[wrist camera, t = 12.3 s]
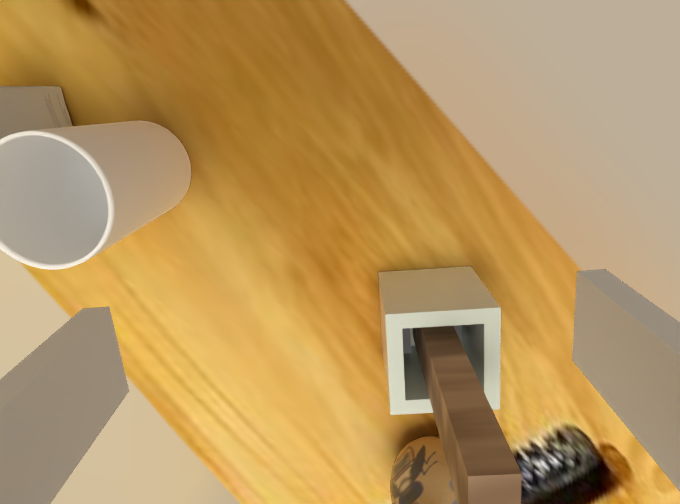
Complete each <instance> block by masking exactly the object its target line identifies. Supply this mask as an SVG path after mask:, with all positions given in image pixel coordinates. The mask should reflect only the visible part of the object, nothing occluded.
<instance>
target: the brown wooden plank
mask: <svg viewBox="0 0 680 504" xmlns="http://www.w3.org/2000/svg"><path fill="white" fill-rule="evenodd" d="M413 338H414V342H415V346H416V350H417V353H418V357H419V361H420V365H421V368H422V372H423V376H424V380H425V383H426V387H427V391H428V395H429V398H430V402H431V406H432V410H433V413H434V417H435V421H436V424H437V428H438V432H439V436H440V439H441V443H442V447H443V451H444V454H445V458H446V462H447V466H448V469H449V473H450V477H451V481H452V484H453V488H454V492H455V496H456V499H457V503H458V504H521V476H522V474H521V471H520V469H519V467H518V465H517V463H516V461H515V458H514V456H513V454H512V452H511V450H510V448H509V445H508V443H507V441H506V439H505V437H504V435H503V432H502V430H501V428H500V426H499V424H498V421H497V419H496V417H495V415H494V413H493V411H492V408H491V406H490V404H489V402H488V400H487V398H486V395H485V393H484V391H483V389H482V387H481V384H480V382H479V380H478V378H477V376H476V374H475V371H474V369H473V367H472V365H471V363H470V361H469V358H468V356H467V354H466V352H465V350H464V348H463V345H462V343H461V341H460V339H459V337H458V334H457V332H456V330H455V328H454V326H437V327H421V328H413Z"/></svg>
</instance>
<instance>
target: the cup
mask: <svg viewBox="0 0 680 504" xmlns="http://www.w3.org/2000/svg"><path fill="white" fill-rule="evenodd" d="M190 181H191V164H190V160H189V156H188V154H187V152H186V149H185V148H184V146H183V144H182V143H181V142H180V140H179V139H178V138H177V137H176V136H175V135H174V134H173V133H172V132H170V131H169V130H168V129H166V128H165V127H163V126H161V125H159V124H156V123H153V122H149V121H140V120H137V121H126V122H115V123H105V124H94V125H83V126H72V127H62V128H51V129H40V130H30V131H23V132H18V133H15V134H11V135H8V136H6V137H4V138H2V139H0V249H1V250H2V251H3V252H5V253H6V254H8V255H9V256H11V257H12V258H14V259H16V260H18V261H20V262H22V263H24V264H27V265H29V266H33V267H37V268H41V269H63V268H68V267H72V266H75V265H78V264H80V263H83V262H85V261H87V260H88V259H90V258H92V257H93V256H95V255H97V254H98V253H100V252H102V251H103V250H105V249H107V248H108V247H110V246H112V245H113V244H115V243H117V242H118V241H120V240H122V239H123V238H125V237H126V236H128V235H130V234H131V233H133V232H135V231H136V230H138V229H140V228H141V227H143V226H145V225H146V224H148V223H149V222H151V221H153V220H154V219H156V218H158V217H159V216H161V215H163V214H164V213H166V212H168V211H169V210H171V209H172V208H174V207H175V206H176V205H178V204H179V203H180V202H181V200H182V199H183V198H184V196H185V195H186V193H187V191H188V188H189V186H190Z"/></svg>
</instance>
